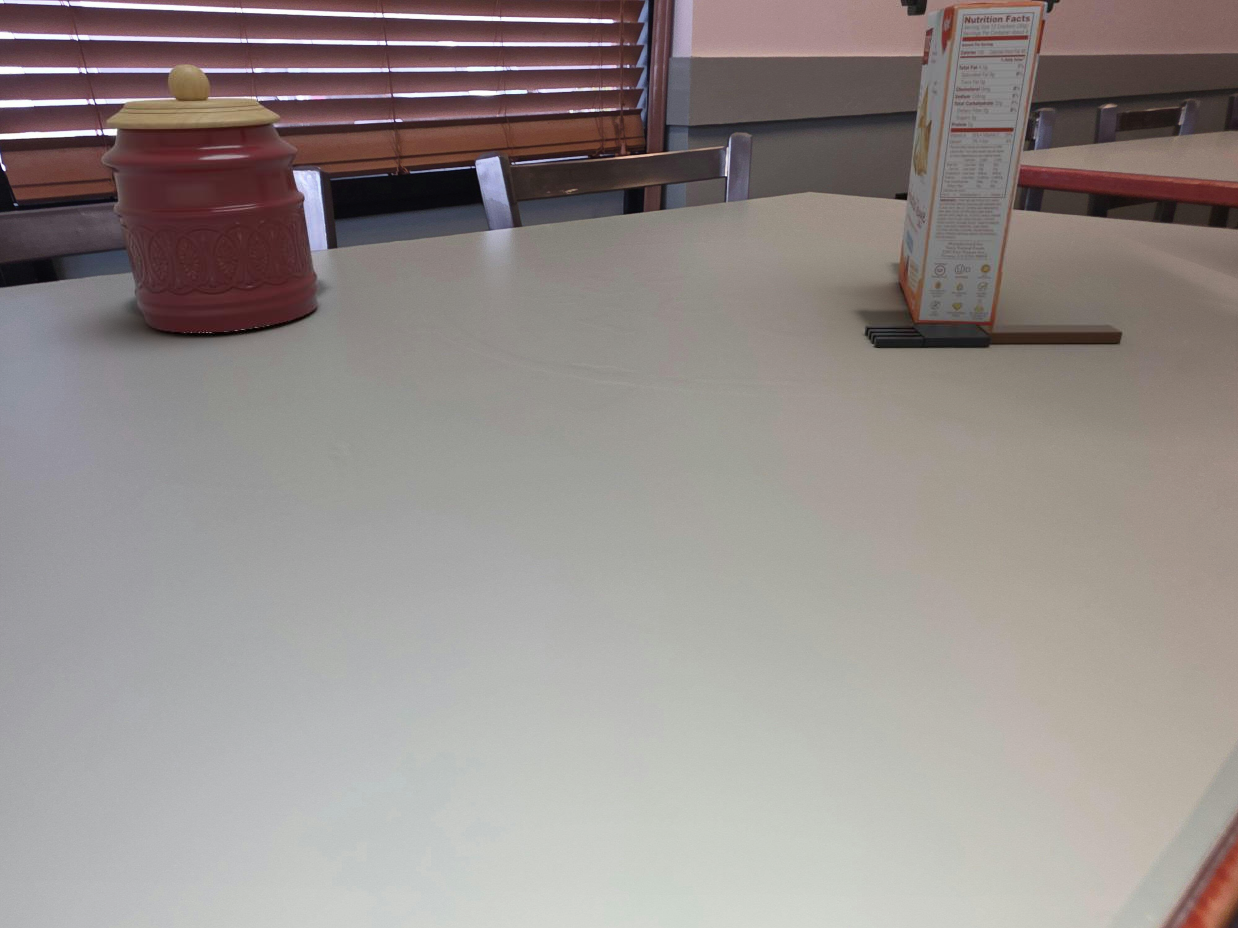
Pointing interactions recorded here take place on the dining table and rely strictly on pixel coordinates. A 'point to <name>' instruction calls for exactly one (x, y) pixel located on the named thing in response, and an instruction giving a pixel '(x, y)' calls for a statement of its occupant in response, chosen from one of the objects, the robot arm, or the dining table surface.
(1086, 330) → the fork
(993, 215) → the cracker box
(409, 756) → the dining table surface
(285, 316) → the kitchen canister
